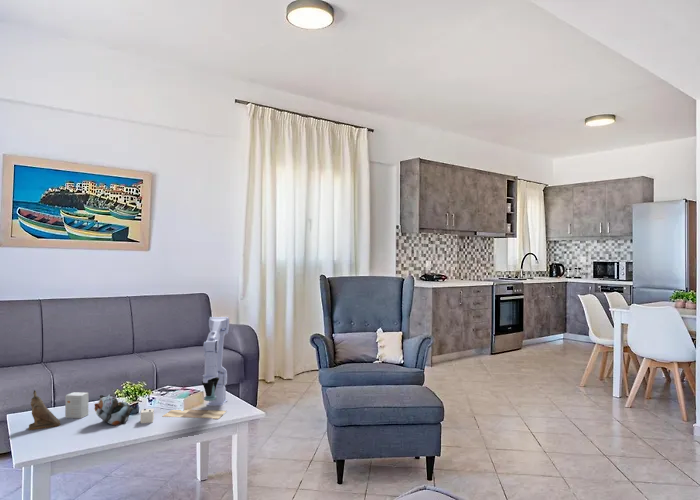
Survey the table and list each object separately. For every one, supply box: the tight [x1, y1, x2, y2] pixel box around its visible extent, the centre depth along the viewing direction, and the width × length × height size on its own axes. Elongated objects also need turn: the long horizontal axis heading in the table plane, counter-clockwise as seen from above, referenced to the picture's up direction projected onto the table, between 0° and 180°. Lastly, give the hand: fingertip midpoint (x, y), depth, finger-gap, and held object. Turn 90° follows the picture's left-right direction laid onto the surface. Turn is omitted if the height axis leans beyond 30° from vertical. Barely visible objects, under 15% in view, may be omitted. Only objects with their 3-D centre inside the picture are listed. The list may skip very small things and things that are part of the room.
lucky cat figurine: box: [93, 393, 134, 426], centre depth 226 cm, size 15×12×14 cm
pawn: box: [203, 384, 216, 402], centre depth 238 cm, size 6×6×8 cm
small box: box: [64, 391, 89, 419], centre depth 234 cm, size 8×6×10 cm
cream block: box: [140, 408, 155, 424], centre depth 227 cm, size 5×5×6 cm
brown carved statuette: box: [28, 390, 61, 431], centre depth 218 cm, size 12×6×18 cm, turn 117°
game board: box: [162, 408, 227, 420], centre depth 238 cm, size 12×27×1 cm, turn 85°
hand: (210, 394), depth 238 cm, fingers closed on pawn, 4 cm apart
